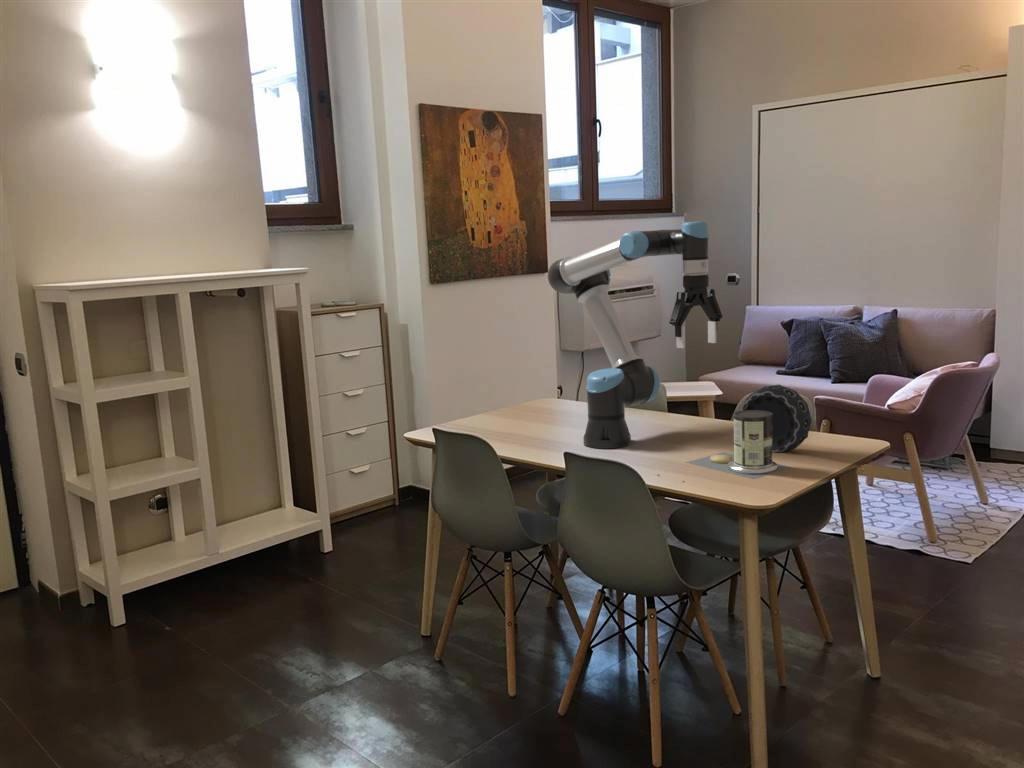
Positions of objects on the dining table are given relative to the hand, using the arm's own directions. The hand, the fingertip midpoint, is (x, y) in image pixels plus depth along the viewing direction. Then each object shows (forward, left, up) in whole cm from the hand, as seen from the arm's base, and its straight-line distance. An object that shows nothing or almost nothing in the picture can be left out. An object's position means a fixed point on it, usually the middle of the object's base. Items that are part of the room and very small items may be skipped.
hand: (696, 345), depth 263 cm
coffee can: (+30, -11, -29) cm, 43 cm away
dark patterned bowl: (+20, +11, -32) cm, 39 cm away
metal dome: (+30, -11, -30) cm, 44 cm away
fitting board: (+25, -11, -32) cm, 42 cm away
